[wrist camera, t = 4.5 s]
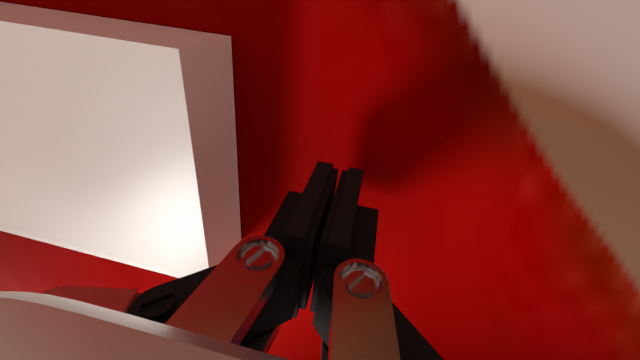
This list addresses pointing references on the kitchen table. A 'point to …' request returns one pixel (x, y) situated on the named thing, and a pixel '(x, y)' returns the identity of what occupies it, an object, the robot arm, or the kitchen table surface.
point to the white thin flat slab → (118, 139)
